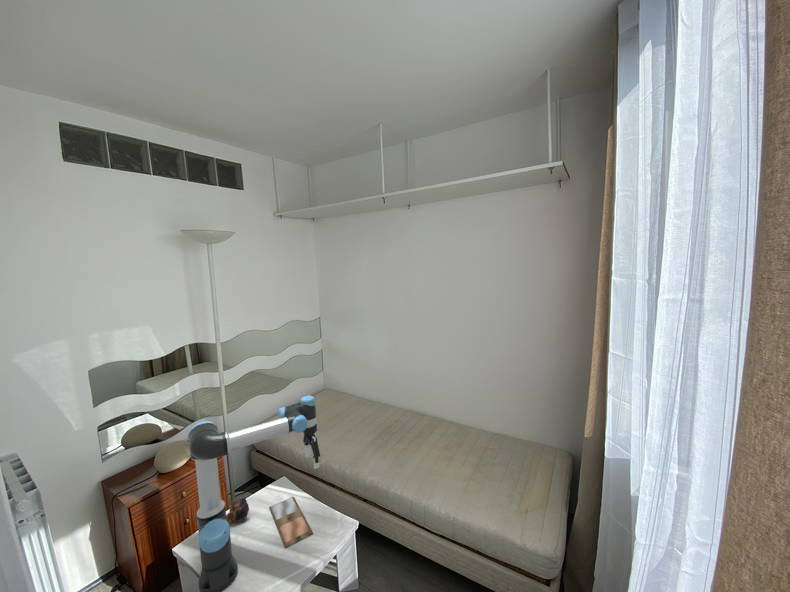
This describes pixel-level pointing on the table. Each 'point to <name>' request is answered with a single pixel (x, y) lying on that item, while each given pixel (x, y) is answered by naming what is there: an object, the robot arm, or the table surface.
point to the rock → (237, 510)
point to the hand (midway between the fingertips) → (312, 461)
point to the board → (290, 522)
